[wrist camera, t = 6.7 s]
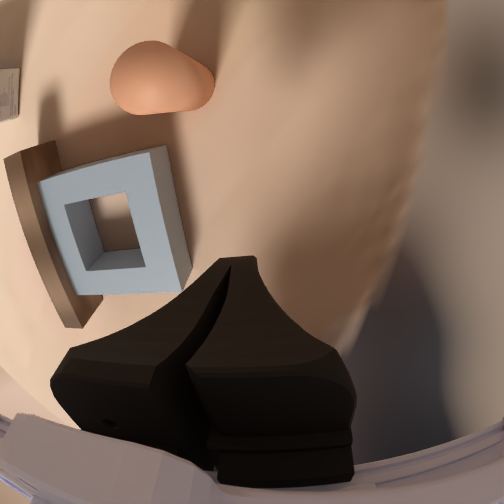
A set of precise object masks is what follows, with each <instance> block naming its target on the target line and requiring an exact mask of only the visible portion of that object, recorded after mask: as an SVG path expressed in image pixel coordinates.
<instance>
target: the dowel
mask: <svg viewBox="0 0 504 504" xmlns="http://www.w3.org/2000/svg"><path fill="white" fill-rule="evenodd" d="M214 87H215V82H214V77H213V75H212V73H211V72H210V70H209V69H208V68H207V67H205V66H204V65H202V64H201V63H199V62H197V61H196V60H194V59H192V58H190V57H189V56H187V55H185V54H183V53H182V52H180V51H178V50H176V49H174V48H173V47H171V46H169V45H167V44H165V43H162V42H159V41H144V42H140V43H137V44H135V45H133V46H131V47H130V48H128V49H127V50H126V51H125V52H123V53H122V55H121V56H120V57H119V58H118V60H117V61H116V63H115V65H114V67H113V69H112V72H111V77H110V89H111V93H112V96H113V98H114V100H115V102H116V103H117V104H118V105H119V106H120V107H121V108H122V109H123V110H125V111H127V112H129V113H131V114H135V115H147V114H156V113H167V112H178V111H191V110H196V109H198V108H200V107H202V106H203V105H205V104H206V103H207V102H208V101H209V100H210V98H211V96H212V94H213V92H214Z"/></svg>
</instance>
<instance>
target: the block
mask: <svg viewBox="0 0 504 504" xmlns="http://www.w3.org/2000/svg"><path fill="white" fill-rule="evenodd" d="M37 184H38V188H39V192H40V195H41V199H42V203H43V206H44V209H45V213H46V216H47V219H48V222H49V225H50V229H51V232H52V235H53V237H54V240H55V243H56V246H57V249H58V252H59V254H60V257H61V260H62V262H63V265H64V267H65V270H66V272H67V275H68V277H69V280H70V282H71V284H72V287H73V289H74V291H75V294H76V295H110V294H144V293H170V292H182V291H183V289H184V287H185V284H186V282H187V280H188V277H189V275H190V273H191V271H192V265H191V261H190V256H189V252H188V248H187V243H186V239H185V235H184V230H183V226H182V221H181V216H180V212H179V207H178V202H177V197H176V192H175V187H174V182H173V177H172V171H171V166H170V161H169V155H168V150H167V145H163V146H158V147H154V148H149V149H144V150H140V151H135V152H131V153H126V154H122V155H118V156H114V157H110V158H106V159H102V160H99V161H95V162H91V163H88V164H84V165H81V166H77V167H74V168H70V169H67V170H64V171H61V172H59V173H56V174H54V175H52V176H50V177H48V178H45V179H43V180H41V181H39V182H37ZM123 192H126V195H127V200H128V204H129V208H130V212H131V215H132V219H133V223H134V227H135V230H136V234H137V238H138V241H139V245H140V248H139V249H129V250H119V251H109V252H104V249H103V246H102V243H101V240H100V237H99V233H98V230H97V227H96V223H95V220H94V217H93V213H92V210H91V206H90V202H89V199H93V198H97V197H102V196H107V195H112V194H117V193H123Z"/></svg>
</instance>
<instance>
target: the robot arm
mask: <svg viewBox="0 0 504 504" xmlns="http://www.w3.org/2000/svg"><path fill="white" fill-rule="evenodd" d="M50 387H51V390H52V392H53V395H54V397H55V398H56V400H57V401H58V403H59V404H60V405H61V407H62V408H63V409H64V410H65V411H66V413H67V414H68V415H69V416H70V417H71V418H72V420H73V421H74V422H75V423H76V424H77V425H78V426H79V427H80V428H81V430H79V429H75V428H72V427H69V426H65V425H62V424H59V423H55V422H53V421H50V420H47V419H44V418H41V417H38V416H36V415H32V414H26V413H17V414H16V416H15V417H14V419H13V420H11V419H9V418H7V417H5V416H3V415H1V414H0V480H1V481H2V482H4V483H5V484H7V485H8V486H10V487H11V488H13V489H14V490H16V491H17V492H19V493H20V494H22V495H24V496H25V497H27V498H28V499H30V500H32V501H31V503H30V504H503V503H504V417H503V419H502V421H500V422H498V423H496V424H494V425H491V426H489V427H487V428H484V429H482V430H480V431H477V432H475V433H472V434H470V435H467V436H464V437H462V438H459V439H456V440H453V441H450V442H448V443H445V444H442V445H438V446H436V447H432V448H429V449H425V450H422V451H418V452H415V453H411V454H407V455H403V456H399V457H395V458H391V459H386V460H381V461H376V462H371V463H366V464H360V465H354V463H353V456H352V449H351V445H352V440H353V439H352V432H351V424H352V420H353V416H354V412H355V408H356V402H357V400H356V391H355V388H354V385H353V382H352V380H351V377H350V375H349V372H348V370H347V368H346V366H345V364H344V362H343V361H342V359H341V357H340V355H339V354H338V352H337V350H336V349H334V348H333V347H331V346H329V345H327V344H325V343H324V342H322V341H320V340H318V339H316V338H315V337H313V336H311V335H310V334H309V333H307V332H306V331H304V330H303V329H302V328H301V327H300V326H299V325H298V324H296V323H295V322H294V321H293V320H292V319H291V318H290V317H289V316H288V315H287V314H286V313H285V312H284V311H283V310H282V309H281V308H280V306H279V305H278V304H277V303H276V301H275V300H274V299H273V297H272V296H271V294H270V293H269V291H268V290H267V288H266V286H265V285H264V283H263V281H262V279H261V277H260V274H259V272H258V266H257V258H256V257H254V256H241V257H228V258H219V259H218V260H217V261H216V262H215V263H214V264H213V265H212V266H210V267H209V268H208V269H207V270H206V271H205V272H204V273H203V274H202V275H201V276H200V277H199V278H198V279H197V280H196V281H195V282H194V283H192V284H191V285H190V286H189V287H188V288H186V289H185V290H184V291H183V292H182V293H180V294H179V295H178V296H177V297H176V298H174V299H173V300H172V301H170V302H169V303H168V304H166V305H165V306H163V307H162V308H160V309H159V310H157V311H156V312H154V313H152V314H151V315H149V316H147V317H145V318H143V319H142V320H140V321H138V322H136V323H134V324H133V325H131V326H129V327H127V328H124V329H122V330H120V331H118V332H115V333H113V334H111V335H108V336H106V337H103V338H100V339H98V340H95V341H91V342H88V343H85V344H82V345H79V346H75V347H72V348H70V349H69V351H68V352H67V354H66V355H65V357H64V358H63V360H62V362H61V363H60V365H59V366H58V368H57V370H56V371H55V373H54V374H53V376H52V378H51V379H50Z"/></svg>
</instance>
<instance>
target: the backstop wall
mask: <svg viewBox="0 0 504 504" xmlns="http://www.w3.org/2000/svg"><path fill="white" fill-rule="evenodd" d="M4 163H5V168H6V172H7V177H8V181H9V185H10V189H11V192H12V196H13V200H14V203H15V207H16V210H17V213H18V216H19V220H20V223H21V226H22V229H23V232H24V235H25V237H26V240H27V243H28V246H29V248H30V251H31V254H32V256H33V259H34V261H35V264H36V266H37V269H38V271H39V274H40V276H41V278H42V281H43V283H44V285H45V287H46V290H47V292H48V294H49V296H50V298H51V300H52V302H53V304H54V307H55V309H56V311H57V313H58V315H59V317H60V319H61V320H62V322H63V324H64V326H65V327H66V328H81V329H83V327H84V326H85V324H86V323H87V322H88V320H89V319H90V317H91V316H92V314H93V313H94V312H95V310H96V309H97V307H98V306H99V305H100V303H101V302H102V301H103V298H102V296H101V295H76V294H75V291H74V289H73V287H72V284H71V282H70V280H69V277H68V275H67V272H66V270H65V267H64V265H63V262H62V260H61V257H60V254H59V252H58V249H57V246H56V243H55V240H54V237H53V235H52V232H51V229H50V225H49V222H48V219H47V216H46V213H45V209H44V206H43V203H42V199H41V195H40V192H39V188H38V184H37V182H39V181H41V180H43V179H45V178H48V177H50V176H52V175H54V174H56V173H59V172H61V168H60V164H59V159H58V154H57V149H56V144H55V140H54V141H50V142H47V143H44V144H40V145H37V146H34V147H31V148H28V149H25V150H22V151H19V152H17V153H15V154H13V155H11V156H9V157H7V158H5V159H4Z"/></svg>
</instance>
